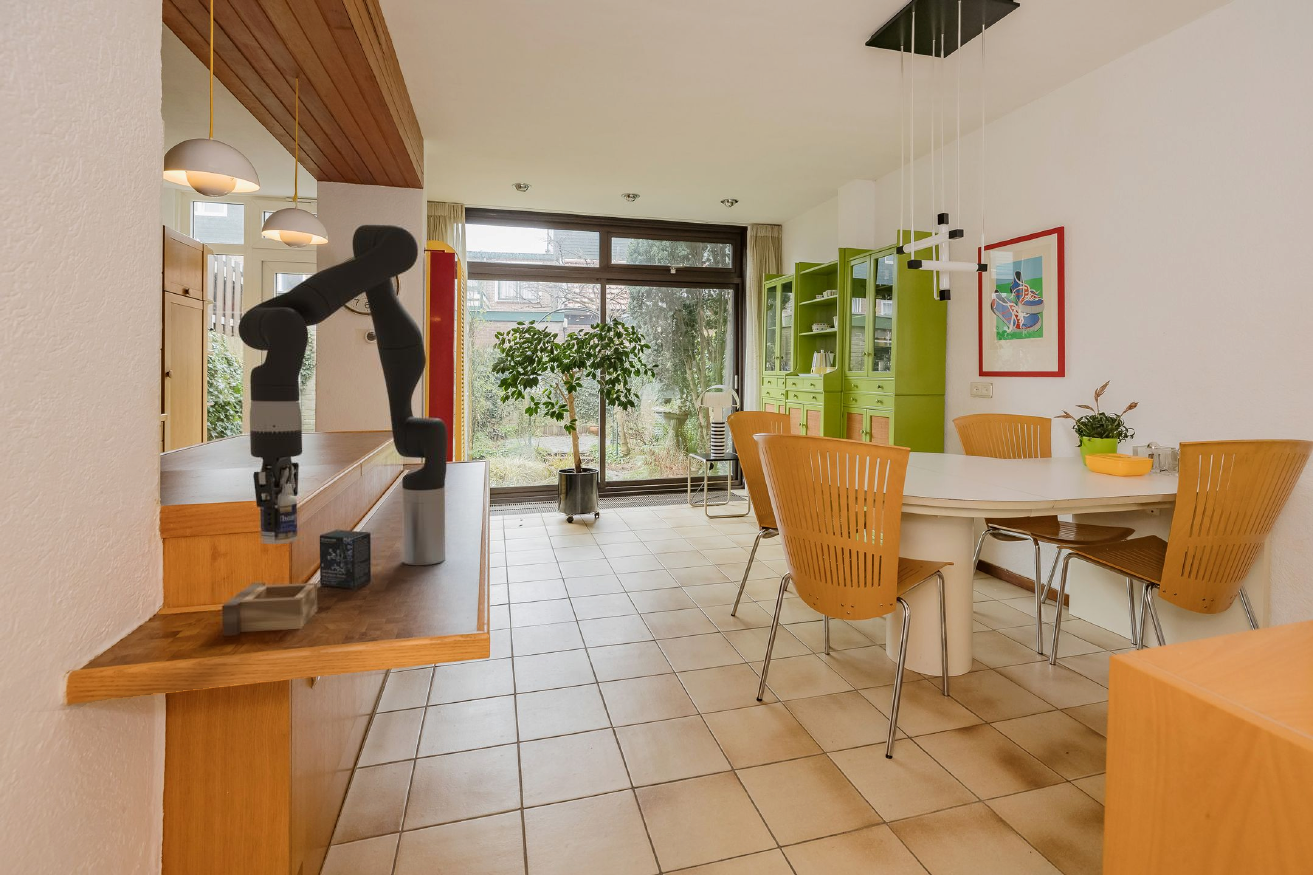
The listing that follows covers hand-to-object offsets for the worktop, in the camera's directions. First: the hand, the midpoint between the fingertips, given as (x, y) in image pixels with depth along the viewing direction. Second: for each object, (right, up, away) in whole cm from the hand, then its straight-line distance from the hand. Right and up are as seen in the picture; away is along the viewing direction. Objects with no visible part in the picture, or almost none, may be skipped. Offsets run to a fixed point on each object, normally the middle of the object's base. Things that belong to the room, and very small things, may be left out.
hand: (279, 526), depth 110 cm
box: (+1, -15, +22) cm, 27 cm away
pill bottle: (0, -3, 0) cm, 3 cm away
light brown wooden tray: (0, -16, +1) cm, 16 cm away
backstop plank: (-6, -16, 0) cm, 17 cm away
